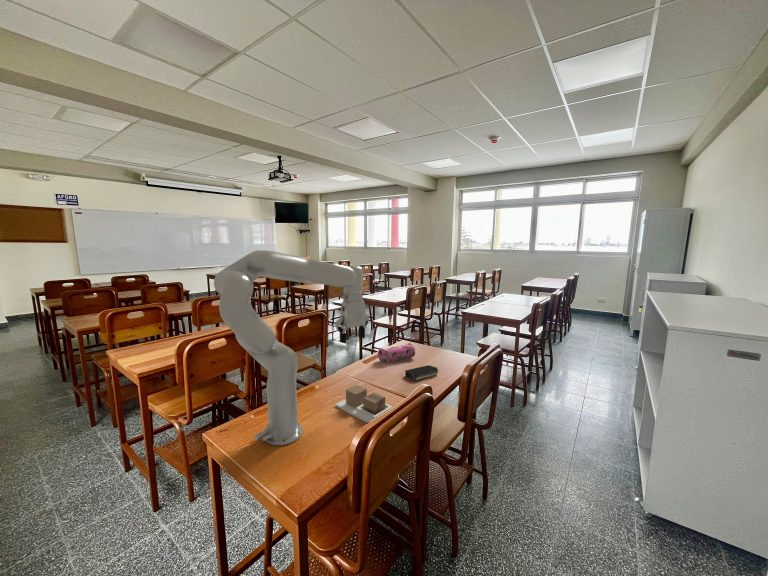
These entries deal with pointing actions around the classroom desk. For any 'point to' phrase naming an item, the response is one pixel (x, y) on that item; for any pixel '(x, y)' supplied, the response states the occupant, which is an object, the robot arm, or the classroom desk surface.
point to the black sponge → (421, 372)
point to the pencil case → (396, 353)
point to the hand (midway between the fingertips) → (352, 339)
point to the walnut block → (374, 403)
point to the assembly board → (361, 411)
